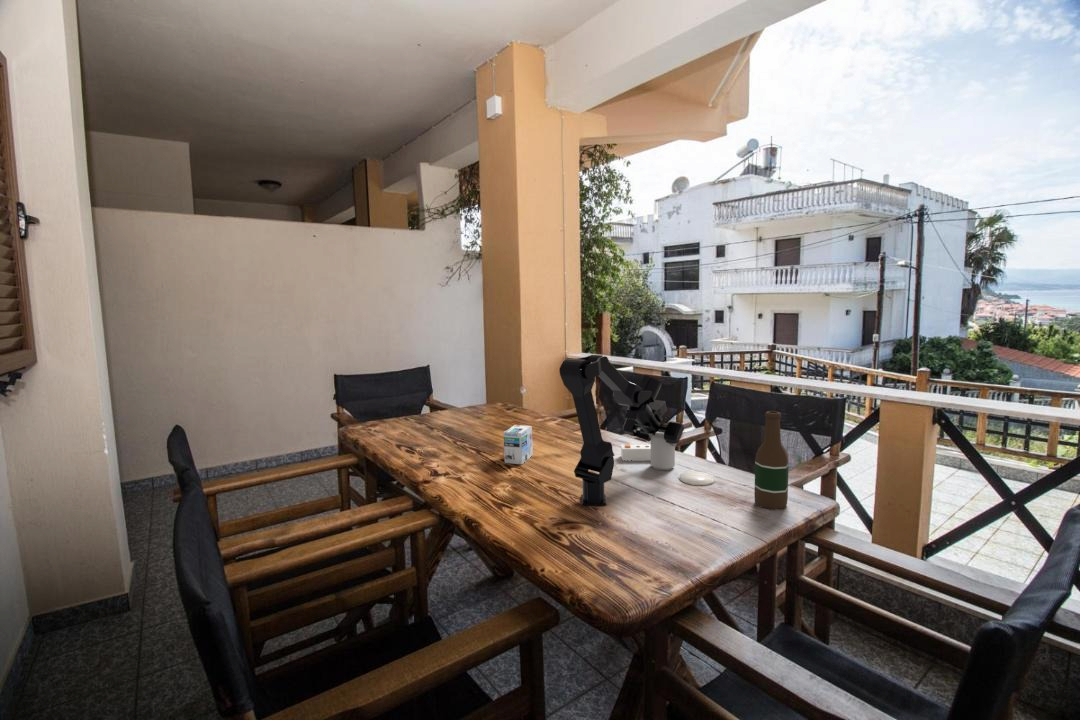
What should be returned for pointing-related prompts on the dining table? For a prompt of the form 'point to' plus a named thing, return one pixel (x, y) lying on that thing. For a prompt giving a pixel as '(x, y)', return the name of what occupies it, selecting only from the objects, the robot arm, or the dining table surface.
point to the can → (662, 452)
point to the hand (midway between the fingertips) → (662, 442)
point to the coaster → (697, 478)
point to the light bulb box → (518, 444)
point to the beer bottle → (771, 467)
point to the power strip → (636, 452)
